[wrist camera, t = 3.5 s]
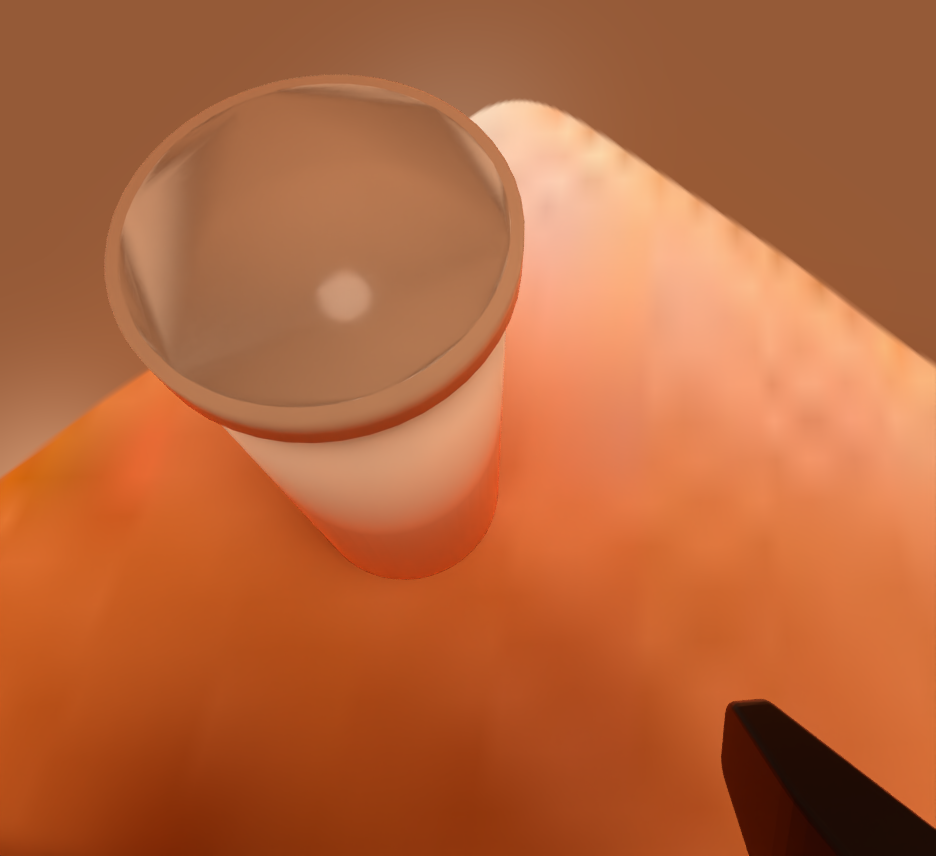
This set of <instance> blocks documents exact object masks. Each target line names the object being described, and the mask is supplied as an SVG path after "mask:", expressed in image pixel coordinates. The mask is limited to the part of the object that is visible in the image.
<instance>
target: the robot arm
mask: <svg viewBox="0 0 936 856" xmlns="http://www.w3.org/2000/svg"><path fill="white" fill-rule="evenodd" d="M721 762H722V770H723V775H724V779H725V782H726V785H727V789H728V792H729V795H730V798H731V801H732V804H733V807H734V810H735V813H736V817H737V820H738V823H739V826H740V829H741V832H742V835H743V838H744V842H745V845H746V848H747V851H748V854H749V856H936V829H935V828H934V827H932V826H931V825H930V824H929V823H927V822H926V821H925V820H923V819H922V818H921V817H920V816H918V815H917V814H916V813H914V812H913V811H912V810H910V809H909V808H908V807H907V806H905V805H904V804H903V803H901V802H900V801H899V800H897V799H896V798H895V797H894V796H892V795H891V794H890V793H888V792H887V791H886V790H884V789H883V788H882V787H881V786H879V785H878V784H877V783H875V782H874V781H873V780H871V779H870V778H869V777H868V776H866V775H865V774H864V773H862V772H861V771H860V770H858V769H857V768H856V767H855V766H853V765H852V764H851V763H849V762H848V761H847V760H846V759H844V758H843V757H842V756H840V755H839V754H838V753H836V752H835V751H834V750H833V749H831V748H830V747H829V746H827V745H826V744H825V743H823V742H822V741H821V740H820V739H818V738H817V737H816V736H814V735H813V734H812V733H810V732H809V731H808V730H807V729H805V728H804V727H803V726H801V725H800V724H799V723H797V722H796V721H795V720H794V719H792V718H791V717H790V716H788V715H787V714H786V713H784V712H783V711H782V710H781V709H779V708H778V707H777V706H775V705H774V704H773V703H771V702H769V701H767V700H764V699H754V700H742V701H733V702H731V703H729V704H728V706H727V708H726V712H725V721H724V732H723V743H722V754H721Z"/></svg>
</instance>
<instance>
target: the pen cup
mask: <svg viewBox="0 0 936 856" xmlns="http://www.w3.org/2000/svg"><path fill="white" fill-rule="evenodd" d="M523 251H524V215H523V208H522V201H521V197H520V194H519V191H518V187H517V184H516V181H515V178H514V176H513V174H512V172H511V170H510V168H509V166H508V164H507V162H506V160H505V158H504V157H503V155H502V154H501V153H500V151H499V150H498V148H497V147H496V145H495V144H494V143H493V141H492V140H491V139H490V138H489V137H488V136H487V135H486V134H485V133H484V132H483V131H482V129H481V128H480V127H479V126H478V125H477V124H475V123H474V122H473V121H472V120H470V119H469V118H468V117H467V116H465V115H464V114H463V113H462V112H461V111H458V110H457V109H456V108H454V107H452V106H451V105H449V104H447V103H446V102H444V101H443V100H441V99H439V98H437V97H434V96H432V95H430V94H428V93H426V92H424V91H421V90H419V89H416V88H413V87H410V86H407V85H404V84H401V83H397V82H393V81H389V80H384V79H380V78H374V77H366V76H356V75H316V76H304V77H298V78H292V79H286V80H281V81H276V82H273V83H269V84H265V85H262V86H258V87H255V88H252V89H249V90H247V91H244V92H242V93H239V94H236V95H234V96H231V97H229V98H227V99H225V100H223V101H221V102H219V103H217V104H215V105H213V106H211V107H209V108H207V109H206V110H204V111H203V112H201V113H199V114H198V115H196V116H195V117H193V118H192V119H190V120H188V121H187V122H186V123H184V124H183V125H182V126H181V127H179V128H178V129H177V130H176V131H174V132H173V133H172V134H171V135H169V136H168V137H167V138H166V139H165V140H164V141H163V142H162V143H161V144H160V145H159V146H158V147H157V148H156V149H155V150H154V151H153V152H152V153H151V154H150V155H149V156H148V157H147V159H146V160H145V161H144V162H143V164H142V165H141V166H140V167H139V169H138V170H137V171H136V173H135V174H134V176H133V177H132V179H131V181H130V182H129V184H128V186H127V187H126V189H125V190H124V192H123V194H122V196H121V199H120V201H119V203H118V205H117V207H116V210H115V212H114V214H113V218H112V221H111V225H110V228H109V232H108V235H107V242H106V250H105V257H104V259H105V283H106V288H107V294H108V298H109V303H110V306H111V309H112V312H113V314H114V317H115V320H116V322H117V325H118V327H119V329H120V330H121V332H122V333H123V335H124V337H125V339H126V341H127V342H128V344H129V345H130V347H131V348H132V349H133V350H134V352H135V353H136V354H137V355H138V357H139V358H140V359H141V360H142V361H143V363H144V364H145V365H146V366H147V367H148V368H149V369H150V370H151V371H152V372H153V373H154V374H155V375H156V376H157V377H158V378H159V379H160V380H161V381H162V382H163V383H164V384H165V385H166V386H167V387H168V388H169V389H170V390H171V391H172V392H173V393H174V394H175V395H176V396H177V397H179V398H180V399H181V400H182V401H183V402H184V403H185V404H187V405H188V406H189V407H191V408H192V409H194V410H195V411H197V412H198V413H200V414H202V415H203V416H205V417H206V418H208V419H209V420H212V421H214V422H216V423H218V424H220V425H222V426H223V427H224V428H225V429H226V430H227V431H228V432H229V434H230V435H231V436H232V437H233V438H234V439H235V440H236V441H237V442H238V443H239V444H240V445H241V447H242V448H243V449H244V450H245V451H246V452H247V453H248V454H249V455H250V456H251V457H252V458H253V459H254V461H255V462H256V463H257V464H258V465H259V466H260V467H261V468H262V469H263V470H264V471H265V472H266V474H267V475H268V476H269V477H270V478H271V479H272V480H273V481H274V482H275V483H276V484H277V485H278V486H279V488H280V489H281V490H282V491H283V492H284V493H285V494H286V495H287V496H288V497H289V498H290V499H291V501H292V502H293V503H294V504H295V505H296V506H297V507H298V508H299V509H300V510H301V511H302V512H303V513H304V515H305V516H306V517H307V518H308V519H309V520H310V521H311V522H312V523H313V524H314V525H315V526H316V527H317V529H318V530H319V531H320V532H321V533H322V534H323V535H324V536H325V537H326V538H327V539H328V540H329V542H330V543H331V544H332V545H333V546H334V547H335V548H336V549H337V550H338V551H339V552H340V553H341V554H342V555H343V556H344V557H345V558H346V559H347V560H348V561H350V562H351V563H353V564H354V565H356V566H357V567H359V568H360V569H363V570H365V571H367V572H369V573H371V574H374V575H377V576H381V577H385V578H391V579H404V580H407V579H418V578H423V577H427V576H432V575H434V574H437V573H440V572H442V571H444V570H446V569H448V568H450V567H452V566H454V565H455V564H457V563H458V562H460V561H461V560H462V559H464V558H465V557H466V556H467V555H468V554H469V553H470V552H472V551H473V550H474V548H475V547H476V546H477V545H478V544H479V542H480V541H481V540H482V538H483V537H484V535H485V534H486V532H487V530H488V528H489V526H490V524H491V522H492V519H493V516H494V513H495V510H496V504H497V498H498V481H499V460H500V440H501V420H502V400H503V380H504V360H505V339H506V327H507V325H508V323H509V321H510V319H511V316H512V313H513V310H514V307H515V304H516V301H517V298H518V293H519V287H520V282H521V276H522V263H523Z"/></svg>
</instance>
